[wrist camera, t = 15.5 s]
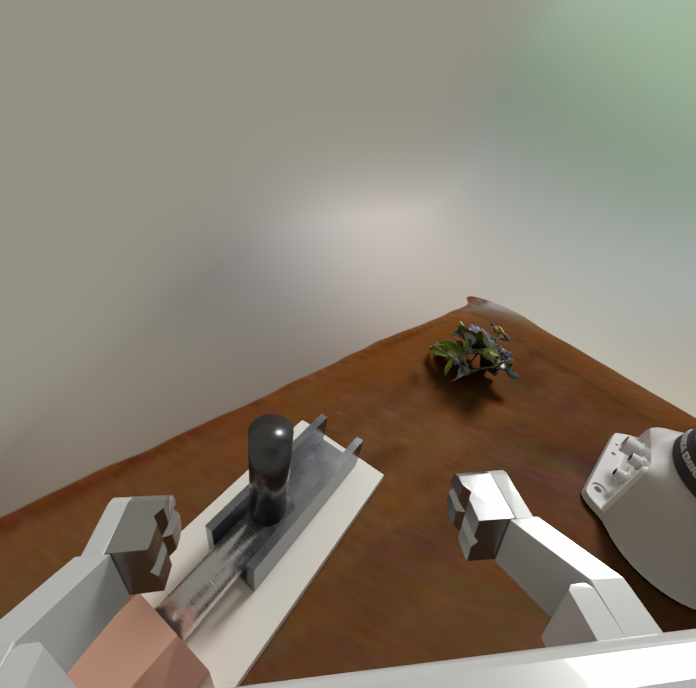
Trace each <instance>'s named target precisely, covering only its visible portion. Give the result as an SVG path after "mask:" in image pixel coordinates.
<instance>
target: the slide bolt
mask: <svg viewBox="0 0 696 688" xmlns="http://www.w3.org/2000/svg"><path fill="white" fill-rule="evenodd" d="M293 435H294V429H293V426H292V424H291V423H290V421H289V420H288V419H286V418H285V417H283V416H280V415H276V414H268V415H263V416H261V417H259V418H257V419H255V420H254V421H253V422H252V423H251V425H250V427H249V429H248V459H249V508H250V510H249V511H248V512H247V513H246V514H245V515H244V516H243V517H242V518H241V519H240V520H239V521H238V522H237V523H236V524H235V525H234V526H233V527H232V528H231V529H230V531H229V532H228V533H227V534H226V535H225V536H224V537H223V538H222V539H221V540H220V541H219V542H218V543H217V544H216V545H215V546H214V547H213V548H212V549H211V550H210V551H209V552H208V553H207V554H206V555H205V556H204V557H203V558H202V559H201V560H200V561H199V562H198V563H197V564H196V565H195V566H194V568H193V569H192V570H191V571H190V572H189V573H188V574H187V575H186V576H185V577H184V578H183V579H182V580H181V581H180V582H179V583H178V584H177V585H176V586H175V587H174V588H173V589H172V590H171V591H170V592H169V593H168V594H167V595H166V596H165V597H164V598H163V599H162V600H161V601H160V602H159V603H158V605H157V606H156V607H155V608H154V609H155V611H156V612H157V613H158V614H159V615H160V616H161V617H162V618H163V619H164V621H165V622H166V623H167V624H168V625H169V626H170V627H171V628H172V630H173V631H174V632H175V633H176V634H177V635H178V636H179V637H180V638H181V640H182V641H183V642H184V641H185V640H186V638H187V637H188V636H189V635H190V634H191V633H192V631H193V630H194V629H195V628H196V627H197V626H198V624H199V623H200V622H201V621H202V620H203V619H204V617H205V616H206V615H207V614H208V613H209V612H210V610H211V609H212V608H213V607H214V606H215V605H216V603H217V602H218V601H219V600H220V599H221V598H222V596H223V595H224V594H225V593H226V592H227V591H228V589H229V588H230V587H231V586H232V585H233V584H234V582H235V581H236V580H237V579H238V578H239V577H240V575H241V574H242V573H243V572H244V571H245V570H246V568H247V563H248V562H249V561H250V560H251V558H252V557H253V556H254V555H255V554H256V553H257V551H258V550H259V549H260V548H261V547H262V546H263V544H264V543H265V542H266V541H267V540H268V539H269V538H270V536H271V535H272V534H273V533H274V532H275V531H276V529H277V528H278V527H279V526H280V525H281V524H282V523H283V521H284V520H285V519H286V518H287V517H288V516H289V514H290V513H291V512H292V511H293V510H294V509H295V506H294V503H293V502H292V500H291V499H290V497H289V496H288V485H289V475H290V465H291V455H292V445H293Z"/></svg>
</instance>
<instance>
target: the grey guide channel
mask: <svg viewBox="0 0 696 688" xmlns="http://www.w3.org/2000/svg"><path fill="white" fill-rule="evenodd" d="M326 422H327V417H326V416H325V415H323V414H321V415H320V416H319V417H318V418H317V419H316V420H315V421H314V422H312V423H311V424H310V425H309V426H308V427H307V428H306V429H305V430H304V431H303V432H302V433H301V434H300V435H299V436H298V437H297V438H296V439H295V440H294V441H293V445H292V455H291V465H290V475H289V485H288V496H289V497H290V499H291V500H292V502H293V503H294V506H295V509H294V510H293V511H292V512H291V513H290V514H289V516H288V517H287V518H286V519H285V520H284V521H283V523H282V524H281V525H280V526H279V527H278V528H277V529H276V531H275V532H274V533H273V534H272V535H271V536H270V538H269V539H268V540H267V541H266V542H265V543H264V544H263V546H262V547H261V548H260V549H259V550H258V551H257V553H256V554H255V555H254V556H253V557H252V558H251V560H250V561H249V562H248V563H247V568H246V570H245V571H244V572H243V573H242V574H241V575H240V577H239V578H240V579H241V580H242V581H243V582H244V583H245V584H246V585H247V586H248V587H249V588H250V589H251V590H253V591H254V592H255V591H256V590H257V588H258V587H259V586H260V585H261V583H262V582H263V581H264V580H265V578H266V577H267V576H268V574H269V573H270V572H271V571H272V569H273V568H274V567H275V566H276V564H277V563H278V562H279V561H280V559H281V558H282V557H283V556H284V554H285V553H286V552H287V551H288V549H289V548H290V547H291V546H292V544H293V543H294V542H295V541H296V539H297V538H298V537H299V536H300V534H301V533H302V532H303V531H304V529H305V528H306V527H307V526H308V524H309V523H310V522H311V521H312V519H313V518H314V517H315V516H316V514H317V513H318V512H319V511H320V509H321V508H322V507H323V506H324V504H325V503H326V502H327V501H328V499H329V498H330V497H331V496H332V494H333V493H334V492H335V491H336V489H337V488H338V487H339V486H340V484H341V483H342V482H343V481H344V479H345V478H346V477H347V476H348V474H349V473H350V472H351V471H352V469H353V468H354V467H355V466H356V463H357V460H358V456H359V453H360V449H361V446H362V442H363V440H362V439H360V438H358V437H356V438H355V439H354V440H353V442H352V443H351V444H350V445H349V446H348V447H347V449H346V450H345V451H344V452H341V451H340V450H338V449H337V448H336V447H334V446H333V445H331V444H330V443H328V442H327V441H325V440H324V433H325V428H326ZM249 510H250V508H249V484H248V485H247V486H246V487H245V488H244V489H243V490H242V491H241V492H240V493H238V494H237V495H236V496H235V497H234V498H233V499H232V500H231V501H230V502H229V503H228V504H227V505H226V506H225V507H224V508H223V509H222V510H221V511H220V512H219V513H218V514H217V515H216V516H214V517H213V518H212V519H211V520H210V521H209V522H208V523H207V524H206V525H205V528H206V534H207V539H208V545H209V550H211V549H212V548H213V547H214V546H215V545H216V544H217V543H218V542H219V541H220V540H221V539H222V538H223V537H224V536H225V535H226V534H227V533H228V532H229V531H230V529H231V528H232V527H233V526H234V525H235V524H236V523H237V522H238V521H239V520H240V519H241V518H242V517H243V516H244V515H245V514H246V513H247V512H248V511H249Z"/></svg>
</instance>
